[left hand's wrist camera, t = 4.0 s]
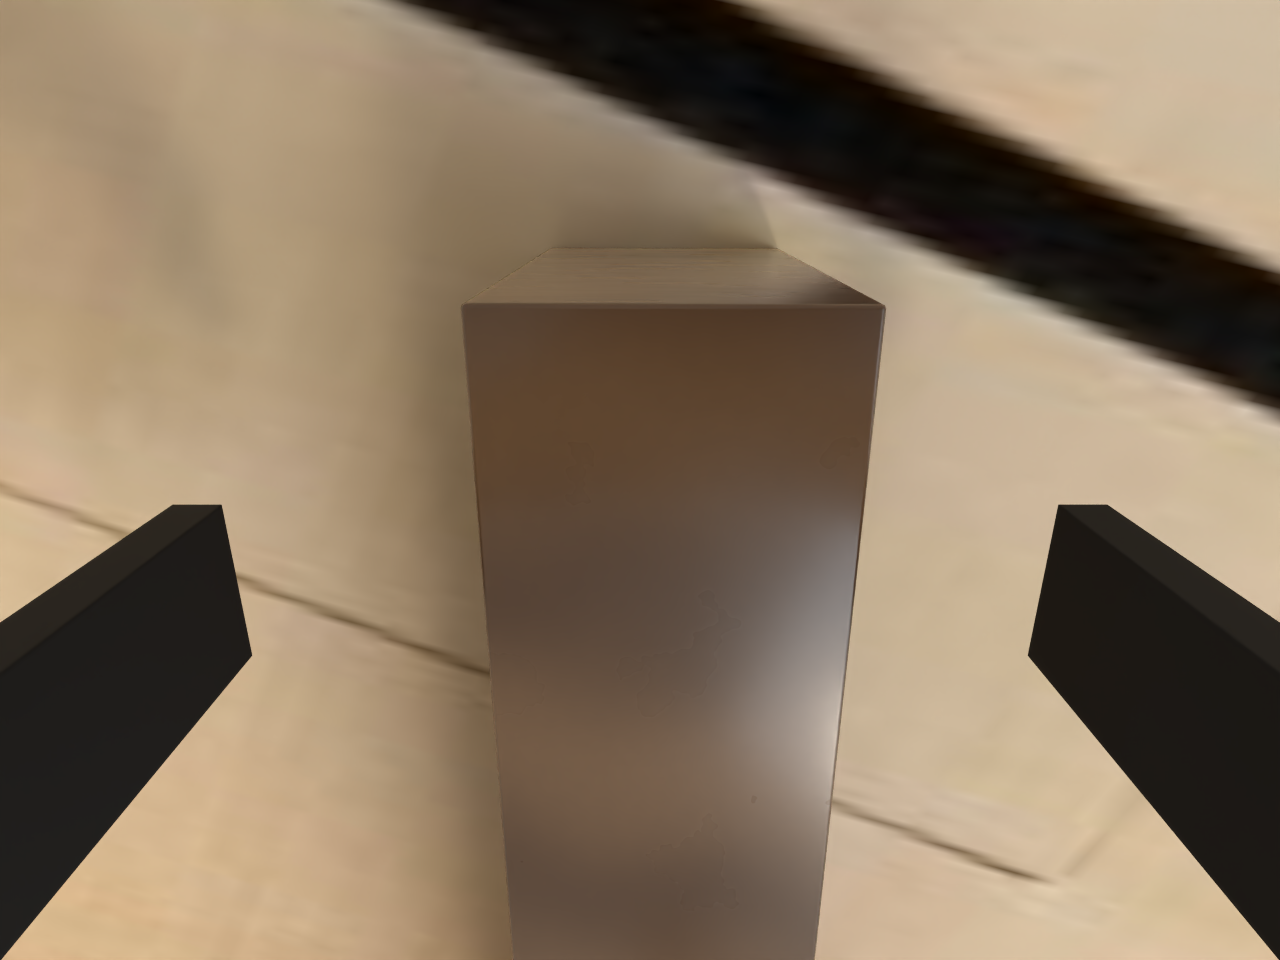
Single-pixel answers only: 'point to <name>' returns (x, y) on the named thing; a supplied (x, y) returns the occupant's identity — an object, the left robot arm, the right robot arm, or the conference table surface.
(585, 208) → the conference table surface
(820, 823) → the beam
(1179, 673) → the left robot arm
